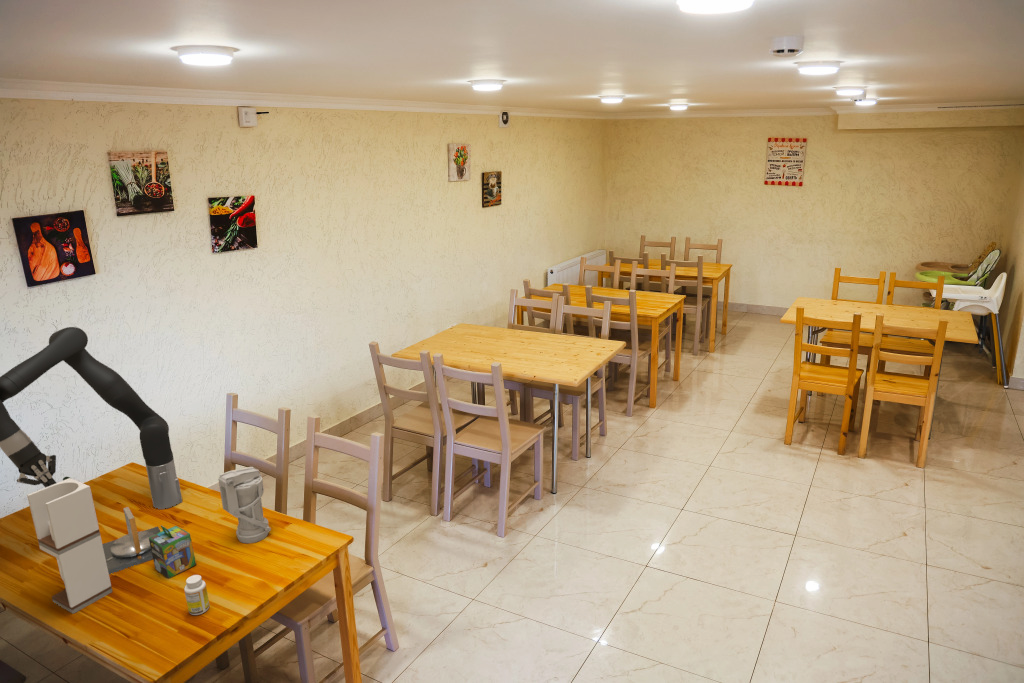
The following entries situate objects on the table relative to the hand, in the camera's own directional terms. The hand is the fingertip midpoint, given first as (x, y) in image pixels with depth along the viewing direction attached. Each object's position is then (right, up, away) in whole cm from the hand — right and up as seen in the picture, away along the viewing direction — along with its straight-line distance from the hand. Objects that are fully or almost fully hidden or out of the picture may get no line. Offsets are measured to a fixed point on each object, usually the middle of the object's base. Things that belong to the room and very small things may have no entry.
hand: (54, 489), depth 220 cm
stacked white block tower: (+20, -28, -17) cm, 39 cm away
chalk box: (+41, -24, -4) cm, 47 cm away
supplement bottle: (+57, -29, -24) cm, 69 cm away
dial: (+23, -20, +4) cm, 31 cm away
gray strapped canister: (+58, -19, +12) cm, 62 cm away
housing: (+23, -21, +6) cm, 32 cm away
